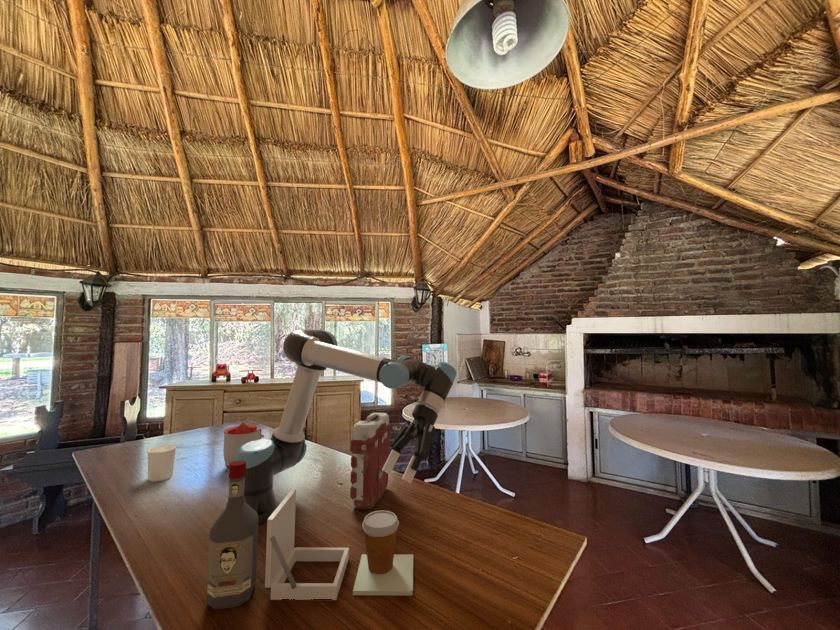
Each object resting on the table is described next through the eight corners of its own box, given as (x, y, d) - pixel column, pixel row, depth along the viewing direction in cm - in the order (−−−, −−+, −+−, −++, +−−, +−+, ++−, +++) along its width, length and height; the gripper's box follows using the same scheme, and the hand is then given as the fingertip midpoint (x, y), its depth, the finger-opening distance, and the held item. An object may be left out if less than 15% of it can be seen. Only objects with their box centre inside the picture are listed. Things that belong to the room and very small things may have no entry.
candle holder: (140, 480, 147) (141, 450, 148) (164, 472, 156) (166, 444, 157) (155, 484, 143) (157, 453, 144) (179, 475, 152) (181, 446, 153)
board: (352, 595, 83) (352, 590, 83) (361, 558, 97) (361, 554, 97) (412, 595, 83) (412, 590, 83) (413, 558, 97) (413, 554, 97)
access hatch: (263, 602, 80) (266, 520, 81) (289, 557, 97) (291, 489, 98) (335, 602, 80) (337, 520, 82) (349, 558, 97) (350, 490, 98)
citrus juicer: (268, 466, 164) (270, 422, 166) (228, 476, 152) (230, 428, 154) (256, 457, 176) (258, 416, 177) (217, 466, 163) (219, 422, 165)
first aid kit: (371, 514, 121) (373, 424, 123) (348, 511, 122) (350, 423, 124) (390, 486, 143) (391, 411, 145) (370, 484, 145) (372, 410, 147)
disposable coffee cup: (363, 555, 96) (363, 510, 97) (398, 553, 97) (398, 508, 97) (360, 580, 87) (360, 530, 87) (399, 577, 87) (399, 527, 88)
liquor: (216, 584, 86) (222, 457, 88) (257, 579, 88) (262, 455, 90) (203, 613, 77) (209, 471, 79) (248, 606, 79) (254, 468, 81)
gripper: (459, 416, 100) (427, 492, 91) (417, 413, 122) (388, 474, 112) (440, 403, 98) (404, 479, 89) (400, 402, 119) (369, 463, 110)
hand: (395, 476), depth 101 cm, fingers open, 13 cm apart
